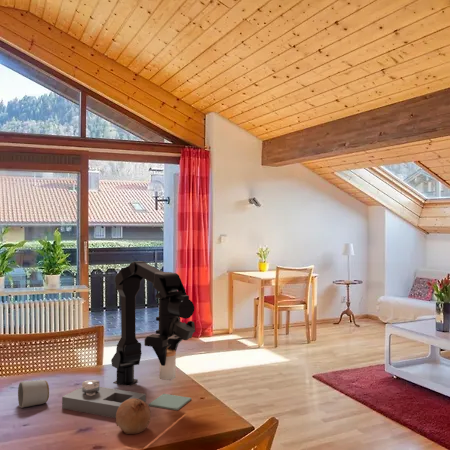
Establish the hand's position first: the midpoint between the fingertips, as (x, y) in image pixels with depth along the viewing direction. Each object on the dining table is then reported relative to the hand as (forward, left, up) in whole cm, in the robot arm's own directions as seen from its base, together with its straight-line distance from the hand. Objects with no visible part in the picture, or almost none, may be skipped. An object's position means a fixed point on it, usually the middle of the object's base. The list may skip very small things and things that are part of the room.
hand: (167, 363), depth 158 cm
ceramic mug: (+15, -40, -13) cm, 45 cm away
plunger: (+10, -21, -13) cm, 27 cm away
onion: (+21, +1, -13) cm, 25 cm away
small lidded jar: (0, 0, -4) cm, 4 cm away
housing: (+10, -16, -13) cm, 23 cm away
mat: (-1, +1, -13) cm, 13 cm away
